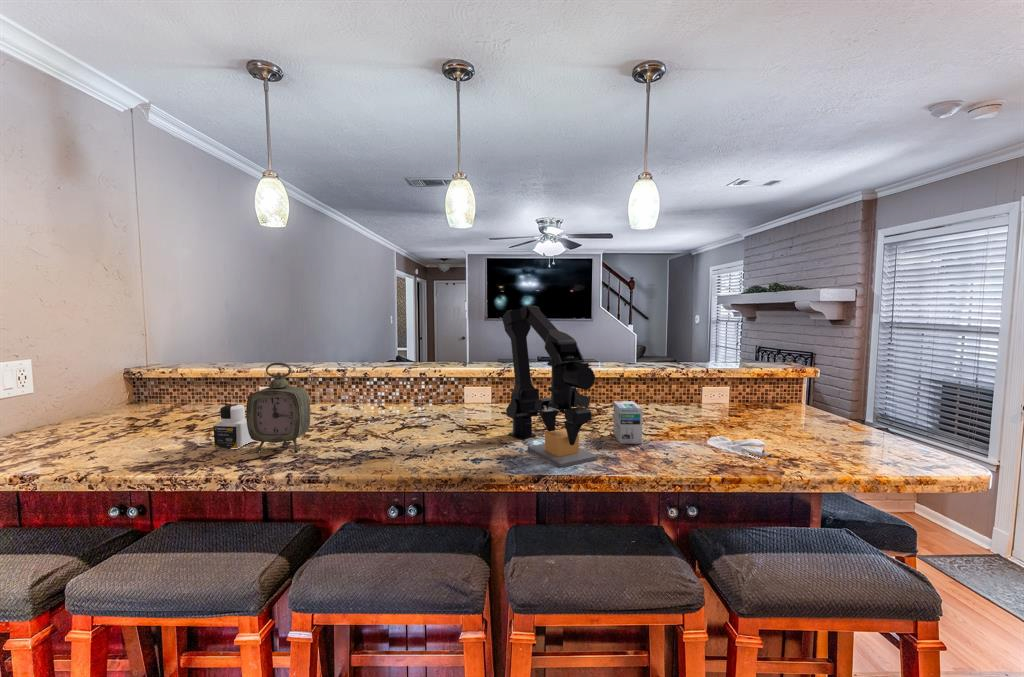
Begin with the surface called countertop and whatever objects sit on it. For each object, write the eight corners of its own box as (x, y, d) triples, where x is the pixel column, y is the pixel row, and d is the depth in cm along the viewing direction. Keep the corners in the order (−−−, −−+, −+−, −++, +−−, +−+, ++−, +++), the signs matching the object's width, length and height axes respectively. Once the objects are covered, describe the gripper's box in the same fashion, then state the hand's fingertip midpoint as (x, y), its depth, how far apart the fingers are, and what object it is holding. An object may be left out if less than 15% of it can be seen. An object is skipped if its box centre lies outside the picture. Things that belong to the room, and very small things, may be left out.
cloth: (703, 437, 143) (703, 429, 143) (782, 444, 136) (783, 436, 136) (707, 457, 124) (707, 449, 124) (800, 467, 117) (800, 458, 116)
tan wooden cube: (544, 449, 126) (544, 432, 125) (564, 446, 129) (564, 428, 129) (558, 456, 120) (558, 438, 120) (578, 452, 123) (578, 434, 123)
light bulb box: (642, 444, 134) (643, 408, 133) (619, 444, 134) (620, 408, 133) (633, 434, 144) (634, 400, 144) (612, 433, 145) (612, 400, 144)
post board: (527, 450, 129) (527, 436, 128) (562, 443, 134) (562, 430, 134) (561, 467, 115) (561, 452, 114) (597, 459, 121) (598, 444, 120)
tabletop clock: (247, 455, 125) (243, 364, 123) (264, 444, 134) (260, 360, 132) (301, 454, 126) (297, 364, 124) (314, 444, 135) (311, 360, 133)
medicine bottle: (214, 449, 130) (211, 407, 130) (232, 441, 138) (230, 402, 137) (236, 450, 130) (234, 408, 129) (253, 442, 137) (252, 403, 136)
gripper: (608, 386, 119) (607, 444, 120) (565, 376, 135) (565, 428, 136) (574, 390, 113) (573, 451, 115) (533, 379, 130) (533, 433, 131)
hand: (561, 440), depth 124 cm, fingers open, 9 cm apart
